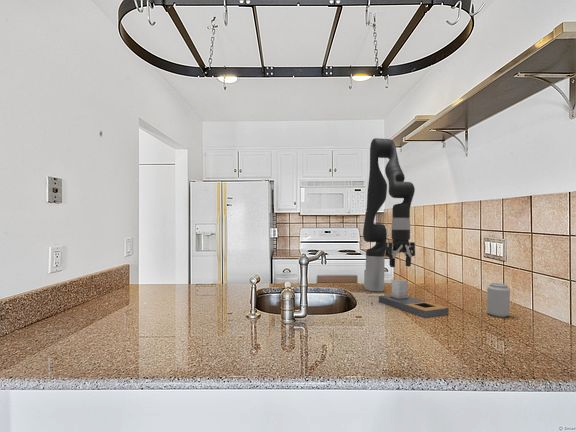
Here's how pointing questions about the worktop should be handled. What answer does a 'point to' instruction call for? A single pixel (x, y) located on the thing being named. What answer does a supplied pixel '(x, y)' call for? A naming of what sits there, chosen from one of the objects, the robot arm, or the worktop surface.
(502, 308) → the can
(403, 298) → the peg
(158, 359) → the worktop surface
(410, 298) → the grey peg board
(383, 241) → the robot arm
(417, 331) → the worktop surface
